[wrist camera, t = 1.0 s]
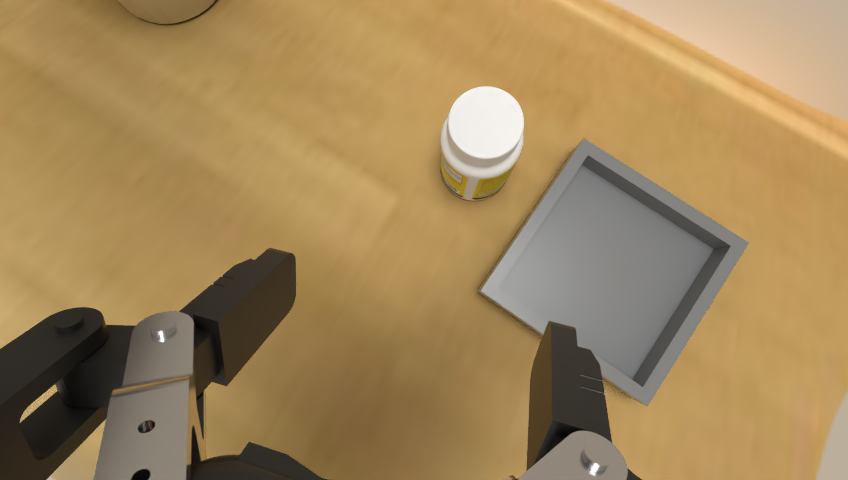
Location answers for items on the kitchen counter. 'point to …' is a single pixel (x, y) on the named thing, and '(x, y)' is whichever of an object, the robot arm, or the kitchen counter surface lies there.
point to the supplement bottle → (480, 142)
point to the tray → (615, 268)
